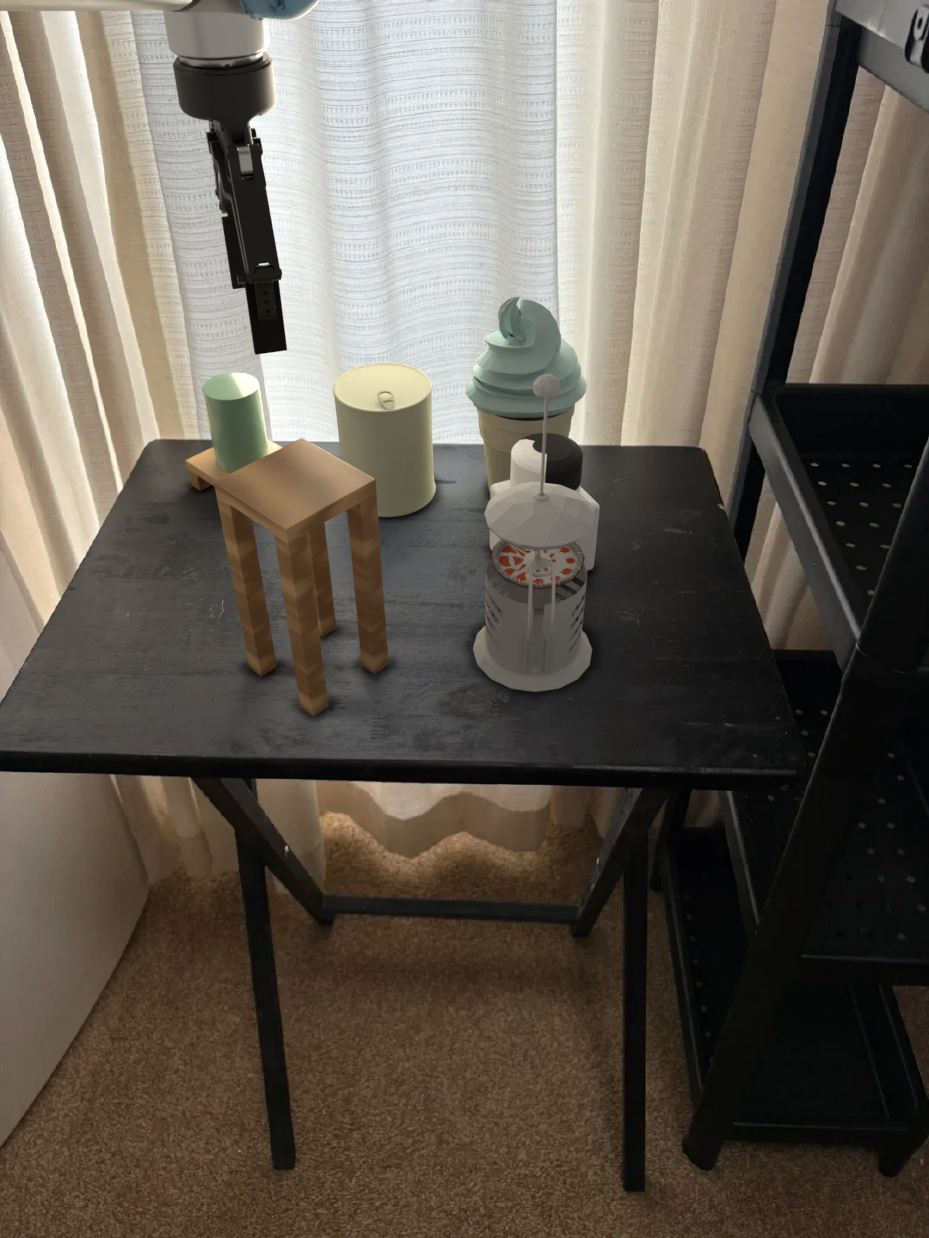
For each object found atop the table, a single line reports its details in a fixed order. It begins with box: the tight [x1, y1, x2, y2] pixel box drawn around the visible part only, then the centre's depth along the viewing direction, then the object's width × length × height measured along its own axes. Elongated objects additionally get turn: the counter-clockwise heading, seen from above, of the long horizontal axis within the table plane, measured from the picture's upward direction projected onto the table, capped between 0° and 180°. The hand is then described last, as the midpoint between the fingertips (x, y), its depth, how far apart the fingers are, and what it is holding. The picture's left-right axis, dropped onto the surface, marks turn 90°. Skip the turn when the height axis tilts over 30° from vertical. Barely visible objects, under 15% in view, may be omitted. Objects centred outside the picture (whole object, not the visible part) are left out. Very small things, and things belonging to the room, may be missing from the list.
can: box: [332, 362, 437, 518], centre depth 99 cm, size 9×9×12 cm
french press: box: [472, 373, 595, 693], centre depth 77 cm, size 10×12×25 cm
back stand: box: [184, 438, 283, 492], centre depth 103 cm, size 8×8×3 cm
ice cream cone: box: [465, 296, 588, 494], centre depth 97 cm, size 10×11×20 cm
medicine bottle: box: [489, 433, 601, 572], centre depth 91 cm, size 7×7×12 cm
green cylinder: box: [202, 372, 269, 473], centre depth 100 cm, size 5×5×8 cm
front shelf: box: [213, 437, 389, 717], centre depth 79 cm, size 8×8×18 cm
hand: (258, 317), depth 94 cm, fingers open, 13 cm apart
